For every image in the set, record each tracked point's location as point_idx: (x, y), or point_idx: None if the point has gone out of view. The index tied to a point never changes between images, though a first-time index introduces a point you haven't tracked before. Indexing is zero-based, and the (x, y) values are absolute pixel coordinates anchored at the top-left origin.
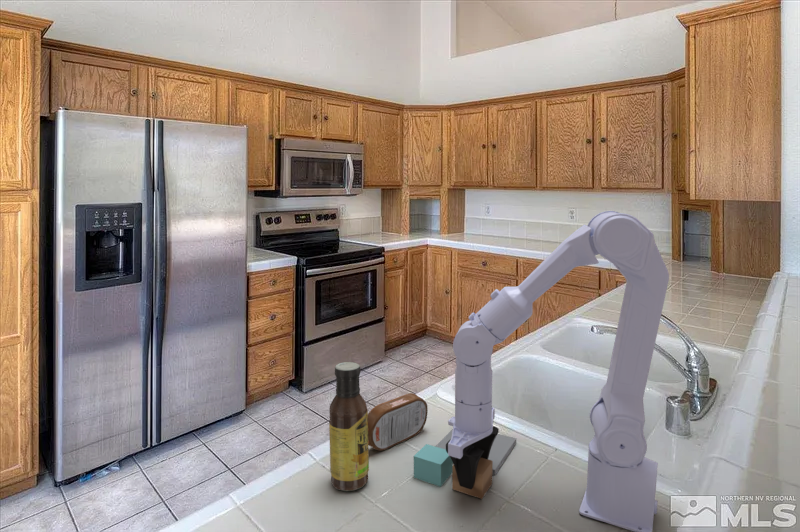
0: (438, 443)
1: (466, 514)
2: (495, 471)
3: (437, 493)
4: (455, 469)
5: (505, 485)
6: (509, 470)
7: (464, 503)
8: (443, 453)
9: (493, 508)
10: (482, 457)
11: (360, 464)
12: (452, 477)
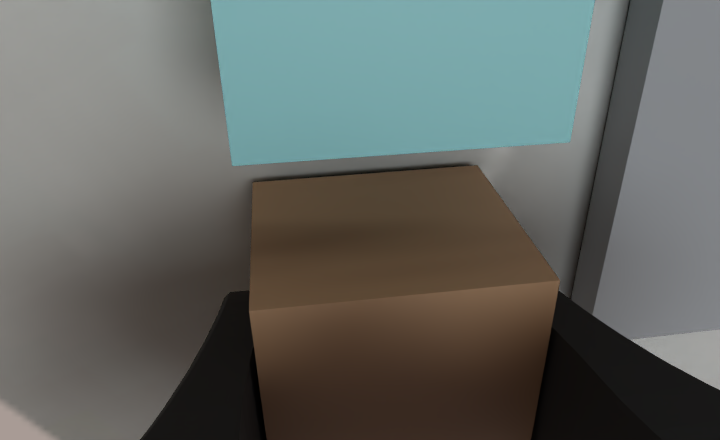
0: None
1: (85, 357)
2: None
3: (140, 97)
4: (177, 388)
5: None
6: (653, 354)
7: (175, 303)
8: (482, 69)
9: None
10: (536, 435)
11: None
12: (252, 235)
